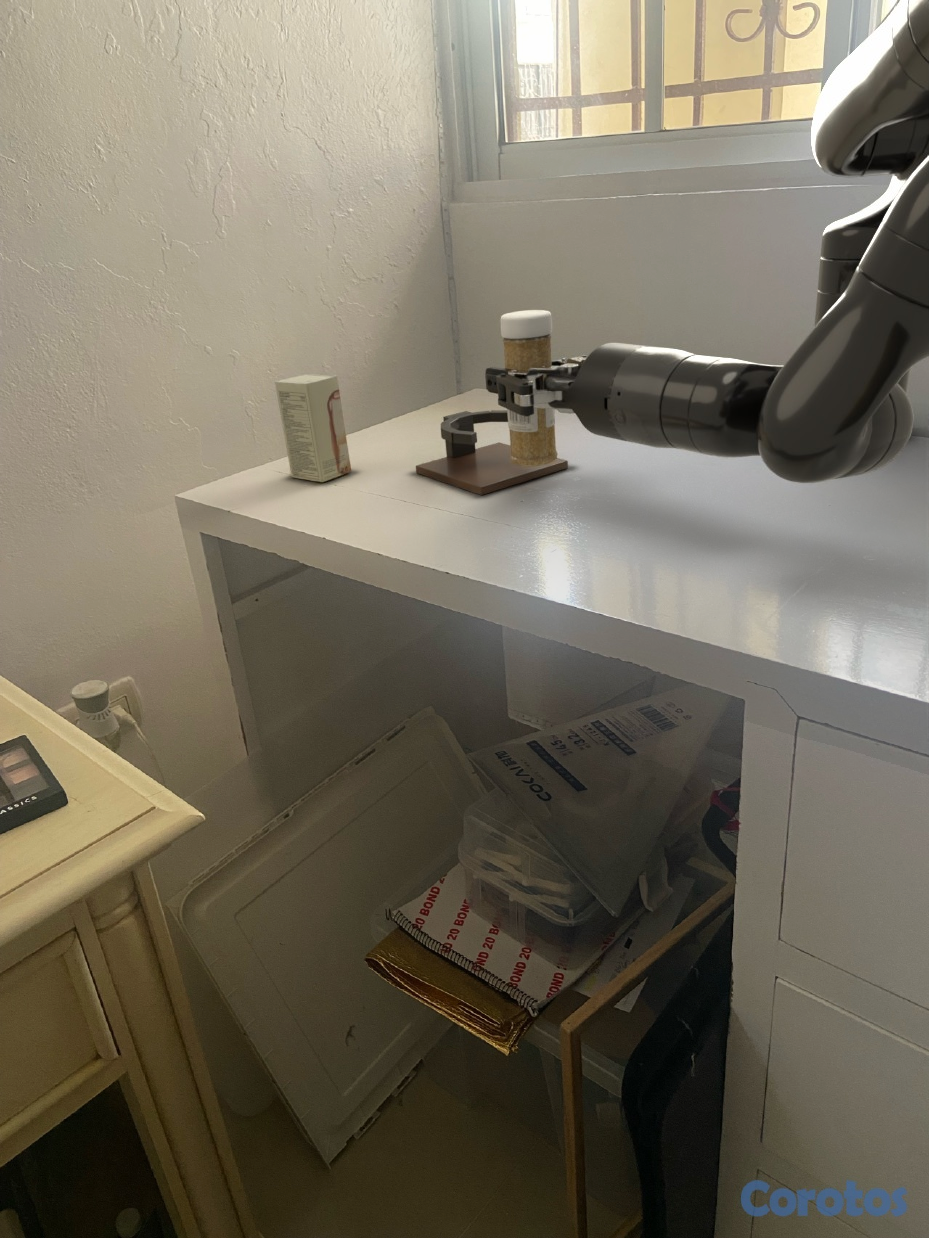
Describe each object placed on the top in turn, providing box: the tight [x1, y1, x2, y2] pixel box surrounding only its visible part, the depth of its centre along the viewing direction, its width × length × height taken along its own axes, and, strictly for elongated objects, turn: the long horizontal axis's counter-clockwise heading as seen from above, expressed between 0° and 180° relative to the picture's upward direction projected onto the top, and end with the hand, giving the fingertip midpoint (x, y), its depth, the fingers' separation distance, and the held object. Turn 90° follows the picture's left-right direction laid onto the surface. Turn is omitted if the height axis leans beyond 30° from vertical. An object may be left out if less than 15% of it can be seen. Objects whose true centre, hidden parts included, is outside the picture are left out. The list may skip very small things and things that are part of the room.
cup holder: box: [415, 409, 569, 496], centre depth 91 cm, size 11×11×5 cm
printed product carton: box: [274, 373, 352, 483], centre depth 93 cm, size 5×4×10 cm
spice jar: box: [499, 309, 558, 466], centre depth 83 cm, size 5×5×14 cm
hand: (509, 374), depth 84 cm, fingers closed on spice jar, 4 cm apart
